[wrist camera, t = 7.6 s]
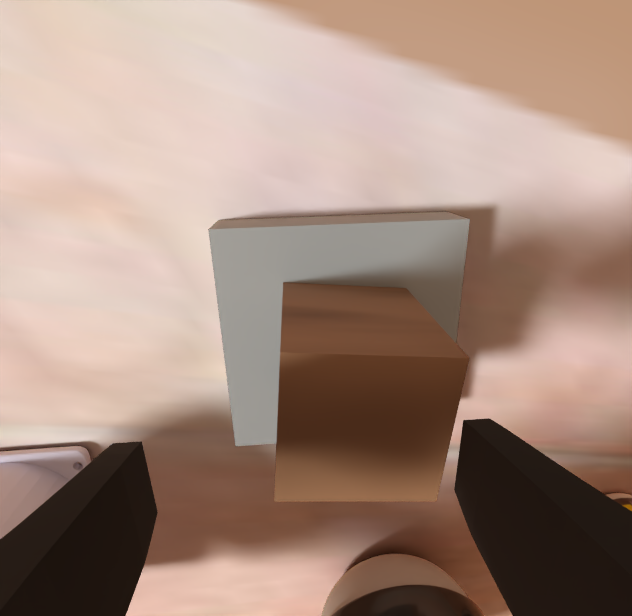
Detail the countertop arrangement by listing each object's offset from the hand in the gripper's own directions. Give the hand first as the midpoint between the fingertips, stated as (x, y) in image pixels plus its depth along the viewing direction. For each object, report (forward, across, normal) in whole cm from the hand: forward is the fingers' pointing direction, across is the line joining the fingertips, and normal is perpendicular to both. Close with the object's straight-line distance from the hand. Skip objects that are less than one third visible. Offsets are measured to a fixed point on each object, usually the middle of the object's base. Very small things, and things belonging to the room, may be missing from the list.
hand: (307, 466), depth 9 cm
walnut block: (+8, -2, +1) cm, 8 cm away
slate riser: (+11, -2, +1) cm, 11 cm away
